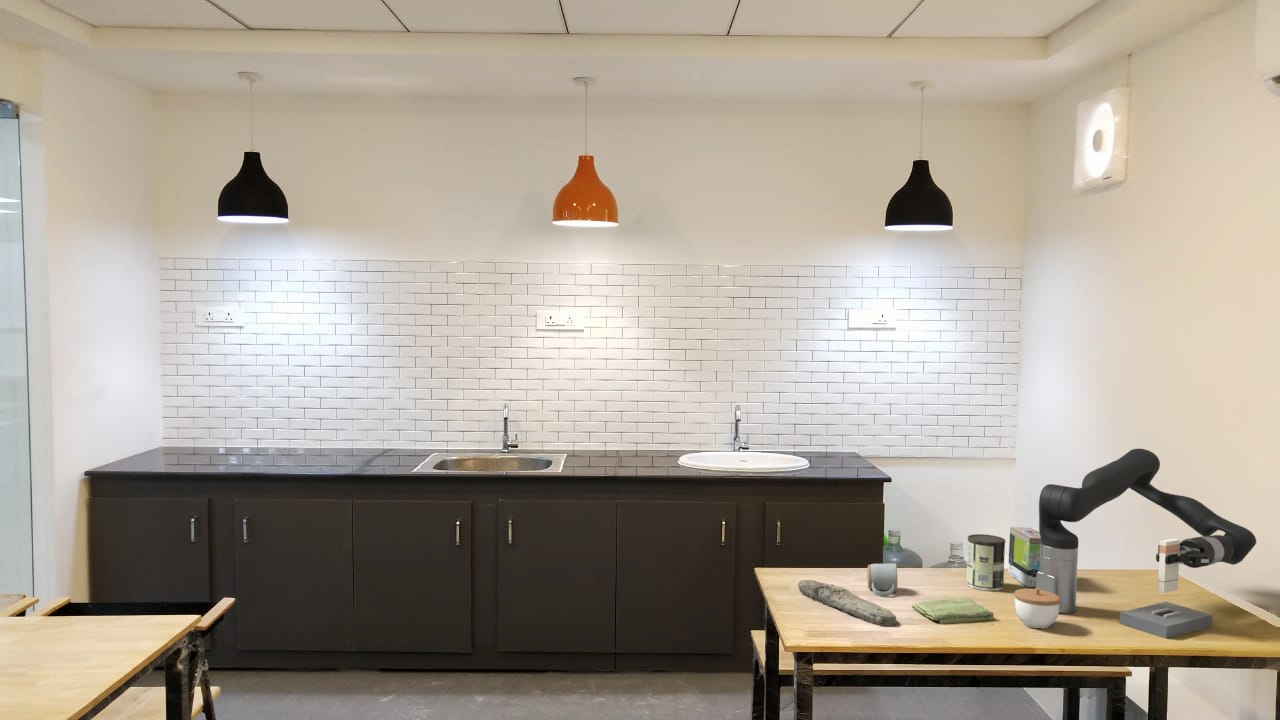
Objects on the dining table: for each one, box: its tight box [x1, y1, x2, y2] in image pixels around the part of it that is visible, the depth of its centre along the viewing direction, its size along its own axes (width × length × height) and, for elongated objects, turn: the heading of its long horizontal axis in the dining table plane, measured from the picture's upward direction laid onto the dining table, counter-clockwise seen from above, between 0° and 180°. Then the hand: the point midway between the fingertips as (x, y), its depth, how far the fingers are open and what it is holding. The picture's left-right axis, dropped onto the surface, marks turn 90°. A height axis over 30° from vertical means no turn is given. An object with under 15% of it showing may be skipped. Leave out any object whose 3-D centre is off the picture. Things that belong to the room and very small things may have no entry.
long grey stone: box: [797, 579, 897, 627], centre depth 245 cm, size 35×5×10 cm
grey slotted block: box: [1119, 601, 1213, 639], centre depth 235 cm, size 20×12×4 cm, turn 120°
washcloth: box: [911, 596, 995, 625], centre depth 240 cm, size 13×18×3 cm
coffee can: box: [965, 533, 1007, 592], centre depth 266 cm, size 10×10×14 cm
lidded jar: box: [1013, 587, 1060, 630], centre depth 233 cm, size 11×11×9 cm
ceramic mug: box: [867, 563, 898, 597], centre depth 259 cm, size 11×8×8 cm
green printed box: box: [1007, 526, 1041, 588], centre depth 273 cm, size 15×10×15 cm, turn 179°
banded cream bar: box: [1157, 538, 1181, 594], centre depth 234 cm, size 6×2×13 cm, turn 119°
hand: (1162, 559), depth 233 cm, fingers closed on banded cream bar
